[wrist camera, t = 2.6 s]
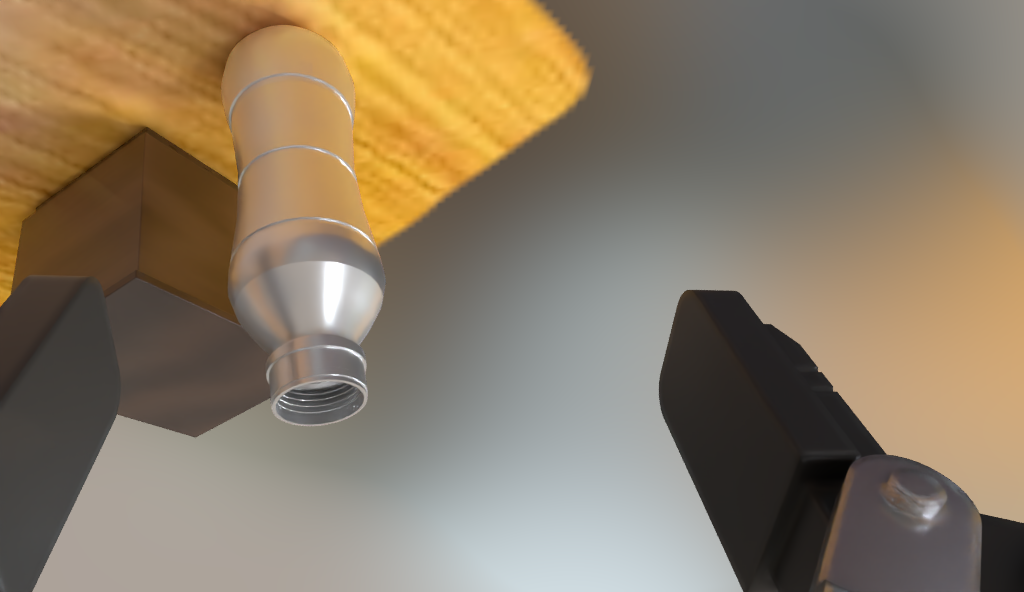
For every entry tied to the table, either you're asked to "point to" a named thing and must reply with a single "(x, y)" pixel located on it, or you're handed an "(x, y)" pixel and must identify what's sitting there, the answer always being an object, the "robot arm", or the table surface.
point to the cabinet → (156, 280)
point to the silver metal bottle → (300, 223)
